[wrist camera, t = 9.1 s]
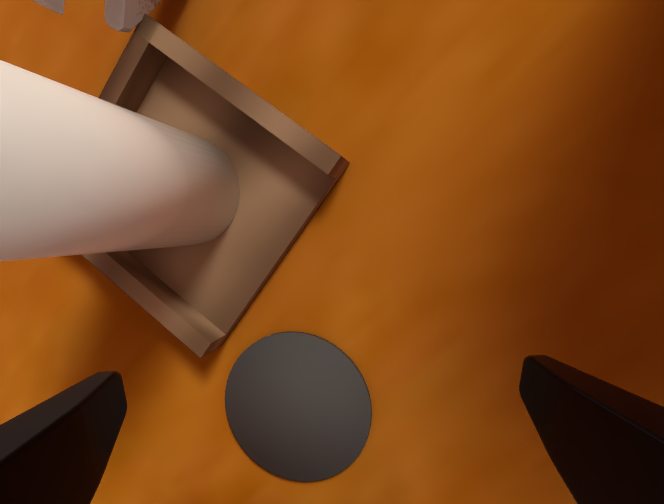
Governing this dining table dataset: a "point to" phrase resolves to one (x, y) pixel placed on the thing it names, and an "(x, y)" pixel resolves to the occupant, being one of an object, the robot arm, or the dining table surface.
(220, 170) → the white rounded tapered post
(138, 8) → the wrench
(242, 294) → the bay
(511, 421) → the dining table surface
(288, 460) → the coaster
